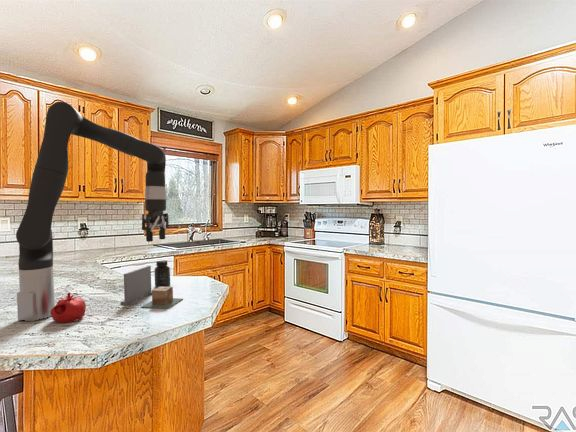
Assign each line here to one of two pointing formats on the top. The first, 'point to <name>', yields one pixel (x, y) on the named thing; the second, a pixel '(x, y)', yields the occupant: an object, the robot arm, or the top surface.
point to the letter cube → (162, 295)
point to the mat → (169, 305)
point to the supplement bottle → (162, 274)
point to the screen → (137, 285)
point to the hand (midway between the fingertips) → (156, 240)
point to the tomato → (68, 309)
